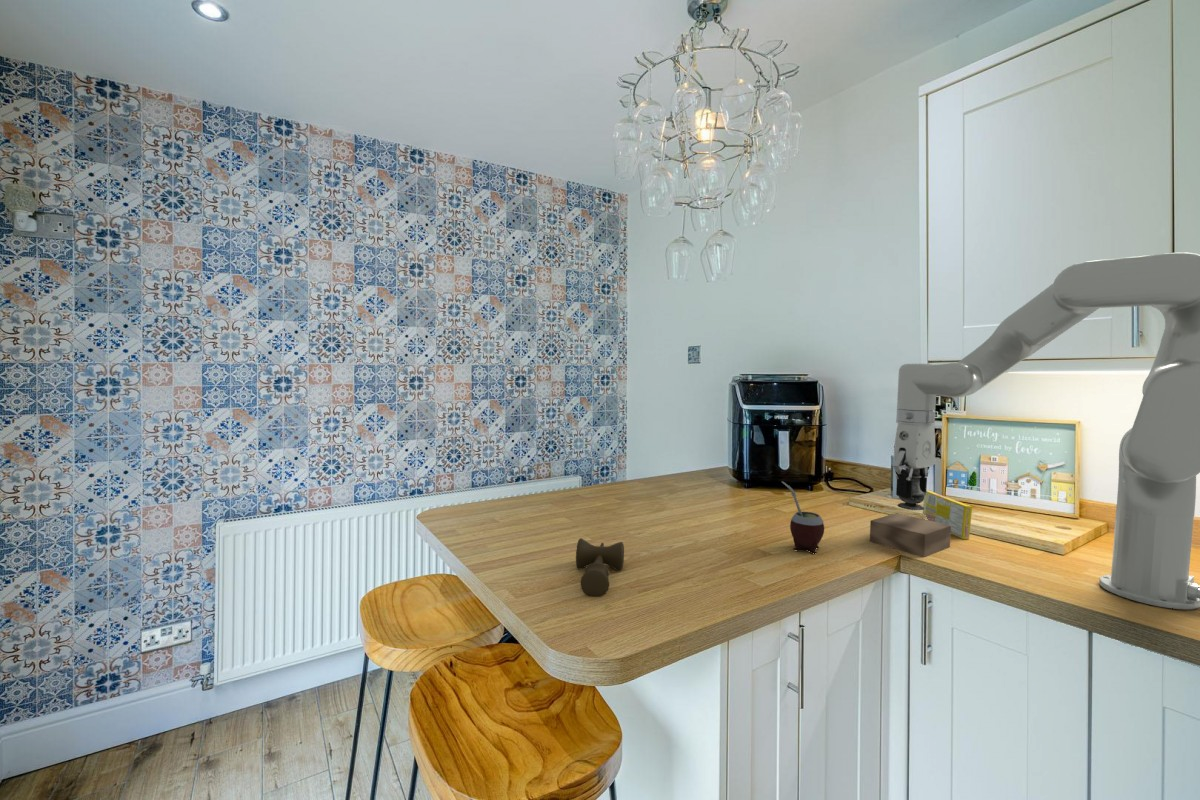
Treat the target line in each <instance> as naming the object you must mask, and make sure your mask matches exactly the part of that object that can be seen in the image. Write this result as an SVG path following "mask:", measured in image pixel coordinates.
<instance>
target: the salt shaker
mask: <svg viewBox="0 0 1200 800" xmlns="http://www.w3.org/2000/svg"><path fill="white" fill-rule="evenodd" d="M904 466H909V465H908V464H906V465H904ZM905 471H906V473H907V472H908V470H907V469H905ZM920 478H921V476H920V469H914V468H913V473H912V477H911V481H913V486H912V498H906V497H901V496H898V499H900V501H901V502H899V503H898V504H897V505H896V506H897V507H899V508H901V509H904V510H905V509H906V510H908V511H909V510H910V511H923V510H924V508H923V505H920V504H921V503H922V502H924V497H925V495H926V493H925V492H922V491H921V490H920V486H919V483H920Z"/></svg>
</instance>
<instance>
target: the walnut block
mask: <svg viewBox="0 0 1200 800" xmlns="http://www.w3.org/2000/svg"><path fill="white" fill-rule="evenodd" d="M869 527H870V529H869V542H871V543H874V544H878V545H882V546H886V547H888V548H890V549H894V550H899V551H902V552H905V553H908V554H912V555H915V556H919V557H921V558H925V557H928V556H931V555H933V554H936V553H938V552H941V551H944V550H945V549H948V548H950V547H951V535H952V534H951V526H950V525H946V524H942V523H938V522H933V521H929V520H925V519H922V517H920V518H919V517H916V516H912V515H907V514H903V513H899V512H896V513H892V514H889V515H885V516H881V517H879V518H876V519H875V518H874V519H871V520H870V525H869Z"/></svg>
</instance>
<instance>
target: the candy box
mask: <svg viewBox="0 0 1200 800" xmlns="http://www.w3.org/2000/svg"><path fill="white" fill-rule="evenodd" d="M922 507H923V508H924V510H922V515H923V514H924V515H926V517H927V519H928V520H929V521H933V522H938V523H942V524H946V525H950V526H951V534H950V535H953V536H955V537H957V538H959V539H961V540H970V536H971V535H970V532H971V523H972V513H973V512H972V511H973V506H972V505H969V504H966V503H965V502H964V503H963V502H961V501H958V500H957V499H953V498H952V497H948V496H945V495H942V494H939V493H936V492H934V491H931V490H926V495H925V497H924V500H923V505H922Z"/></svg>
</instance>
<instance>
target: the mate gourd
mask: <svg viewBox="0 0 1200 800" xmlns="http://www.w3.org/2000/svg"><path fill="white" fill-rule="evenodd" d="M781 483H782V484H783V485H785V487H787V489H788V490H789V491H790V493H791V495H792V497H793V500H794V502H795V505H796V508H797V511H796V512H795V513H794V515H793V516H792V517H791V519H790V526H789V527H790V533H791V537H792V538H793V543H794V547H793V548H792V549H793V551H794V550H804V551H806V550H808V551H810V552H812V553H814V554H813V555H816V554H815V553H817V551H816V550H817V549H816V548H819V549H820V546H819V544H820V542H821V541H822V539H823V536H824V533H825V524H824V520H823V519H822V517H821V515H820V514H818V513H815V512H810V511H802V510H801V507H800V504H799V501H798V499H797V494H796V492H795V490H794V489H793V488H792V487H791V486H790V485H788V484H787V483H786V482H784V481H781ZM808 551H807V552H808ZM810 552H809V553H810ZM812 553H811V554H812ZM817 554H818V553H817Z"/></svg>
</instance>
